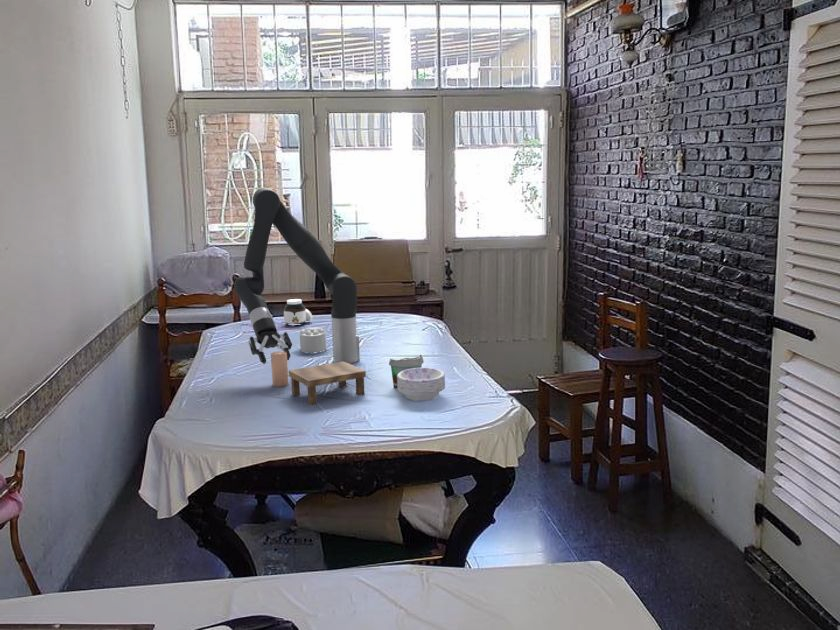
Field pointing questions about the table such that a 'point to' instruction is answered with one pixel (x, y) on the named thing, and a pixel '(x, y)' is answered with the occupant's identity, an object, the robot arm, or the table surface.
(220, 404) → the table surface
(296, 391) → the footstool
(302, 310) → the spread jar
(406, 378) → the paper bowls
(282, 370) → the peach rounded cylinder
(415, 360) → the food container
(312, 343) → the lumpy-topped squat cylinder
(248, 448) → the table surface
